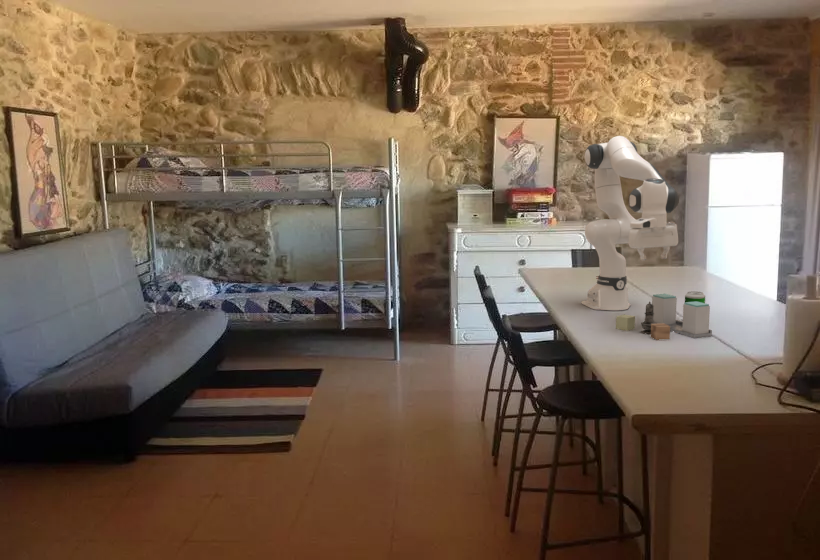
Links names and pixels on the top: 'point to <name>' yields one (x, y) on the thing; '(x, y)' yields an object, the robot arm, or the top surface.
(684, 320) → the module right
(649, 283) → the top surface
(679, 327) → the rail
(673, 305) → the block
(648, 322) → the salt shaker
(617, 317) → the block olive
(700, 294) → the soda can
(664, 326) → the block walnut
